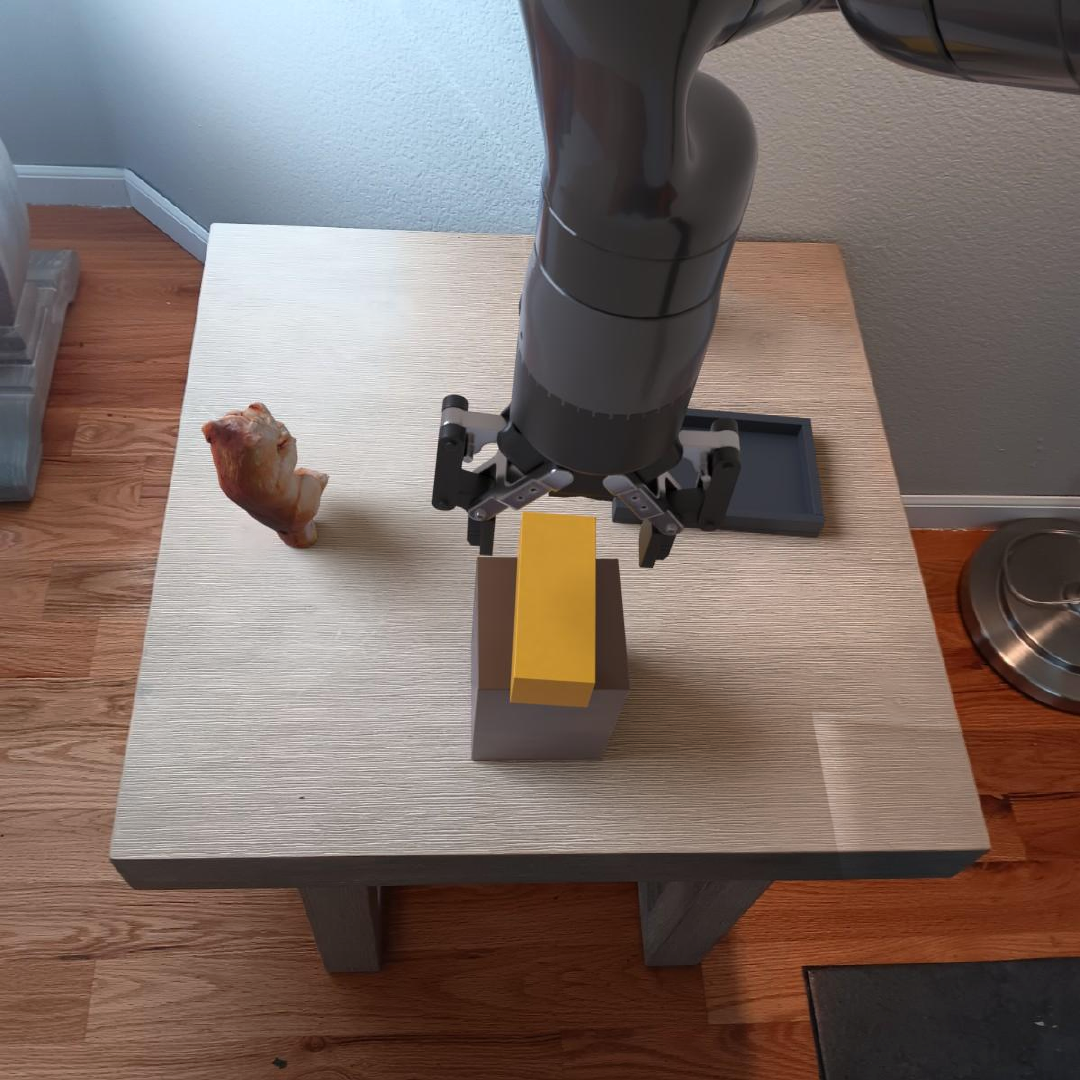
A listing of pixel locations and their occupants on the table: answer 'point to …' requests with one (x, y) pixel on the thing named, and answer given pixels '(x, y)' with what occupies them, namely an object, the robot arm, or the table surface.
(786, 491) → the tray
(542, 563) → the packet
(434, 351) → the table surface
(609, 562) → the stand
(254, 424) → the figurine
